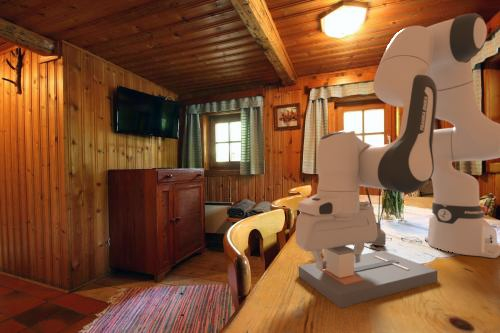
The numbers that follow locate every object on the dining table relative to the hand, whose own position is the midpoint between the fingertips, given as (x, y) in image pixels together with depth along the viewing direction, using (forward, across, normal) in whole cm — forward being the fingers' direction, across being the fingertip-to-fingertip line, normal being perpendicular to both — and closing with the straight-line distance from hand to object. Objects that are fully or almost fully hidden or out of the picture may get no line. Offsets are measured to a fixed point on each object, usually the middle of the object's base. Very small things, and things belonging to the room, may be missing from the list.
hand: (338, 265), depth 52 cm
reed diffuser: (+5, -30, -17) cm, 35 cm away
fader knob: (+1, 0, 0) cm, 1 cm away
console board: (+4, -8, 0) cm, 9 cm away
